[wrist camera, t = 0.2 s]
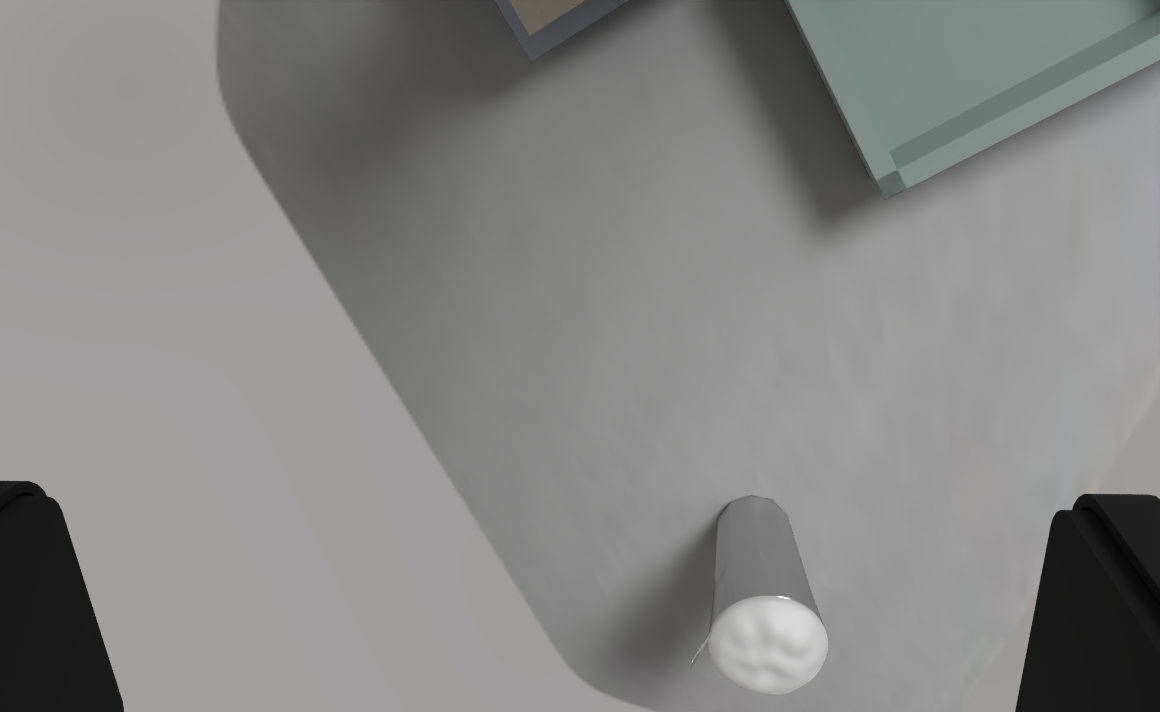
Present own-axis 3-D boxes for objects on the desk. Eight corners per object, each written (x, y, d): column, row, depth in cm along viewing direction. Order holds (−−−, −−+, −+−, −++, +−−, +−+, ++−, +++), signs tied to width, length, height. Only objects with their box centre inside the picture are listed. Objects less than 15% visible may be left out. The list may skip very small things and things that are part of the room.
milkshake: (699, 469, 43) (704, 618, 34) (815, 494, 43) (851, 649, 34) (676, 550, 45) (675, 710, 36) (787, 573, 45) (814, 739, 36)
